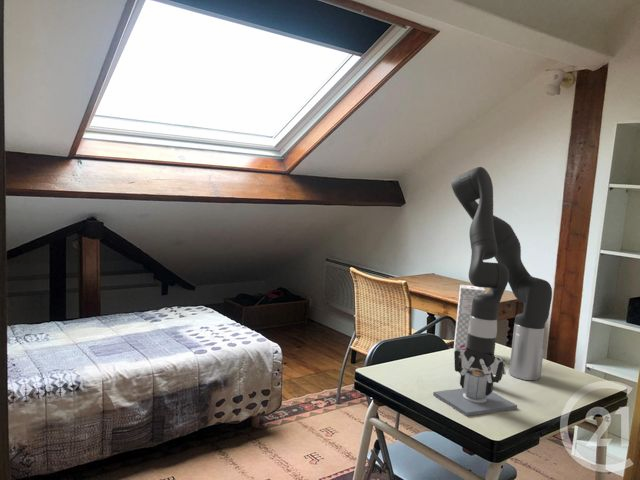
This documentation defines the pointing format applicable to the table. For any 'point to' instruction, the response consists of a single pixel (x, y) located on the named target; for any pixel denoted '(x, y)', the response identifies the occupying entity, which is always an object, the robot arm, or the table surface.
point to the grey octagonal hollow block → (475, 385)
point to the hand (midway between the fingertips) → (475, 390)
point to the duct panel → (474, 401)
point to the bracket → (464, 362)
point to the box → (465, 314)
